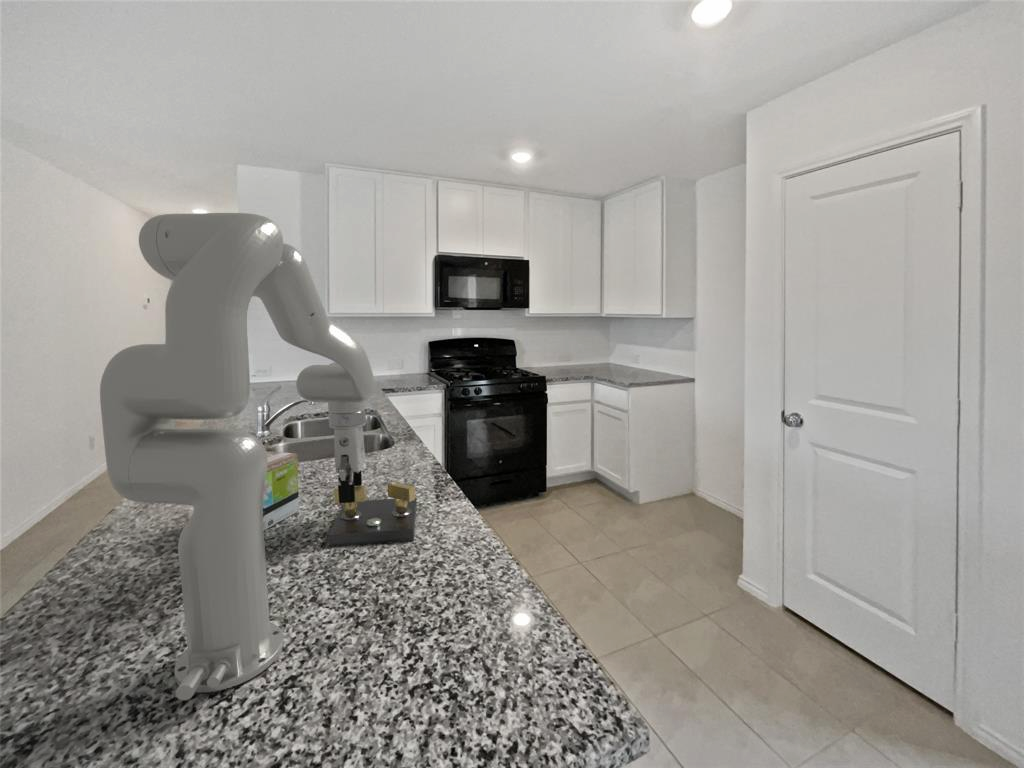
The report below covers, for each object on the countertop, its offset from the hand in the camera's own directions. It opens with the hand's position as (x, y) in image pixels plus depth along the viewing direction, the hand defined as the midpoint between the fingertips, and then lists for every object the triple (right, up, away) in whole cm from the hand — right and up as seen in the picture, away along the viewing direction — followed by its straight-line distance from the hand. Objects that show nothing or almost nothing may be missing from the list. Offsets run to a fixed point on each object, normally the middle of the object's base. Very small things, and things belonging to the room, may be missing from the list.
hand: (351, 493), depth 103 cm
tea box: (-22, -7, +3) cm, 23 cm away
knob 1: (0, -5, 0) cm, 5 cm away
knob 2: (+11, -4, +2) cm, 12 cm away
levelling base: (+5, -7, +1) cm, 9 cm away
